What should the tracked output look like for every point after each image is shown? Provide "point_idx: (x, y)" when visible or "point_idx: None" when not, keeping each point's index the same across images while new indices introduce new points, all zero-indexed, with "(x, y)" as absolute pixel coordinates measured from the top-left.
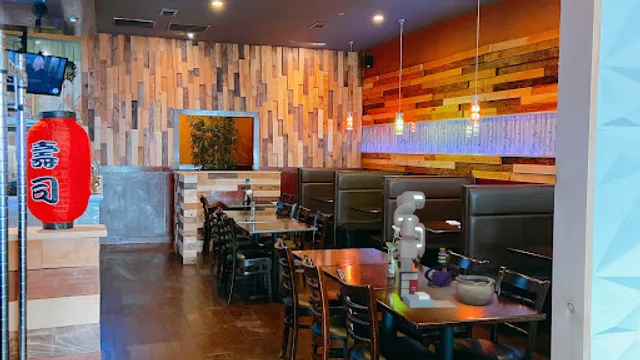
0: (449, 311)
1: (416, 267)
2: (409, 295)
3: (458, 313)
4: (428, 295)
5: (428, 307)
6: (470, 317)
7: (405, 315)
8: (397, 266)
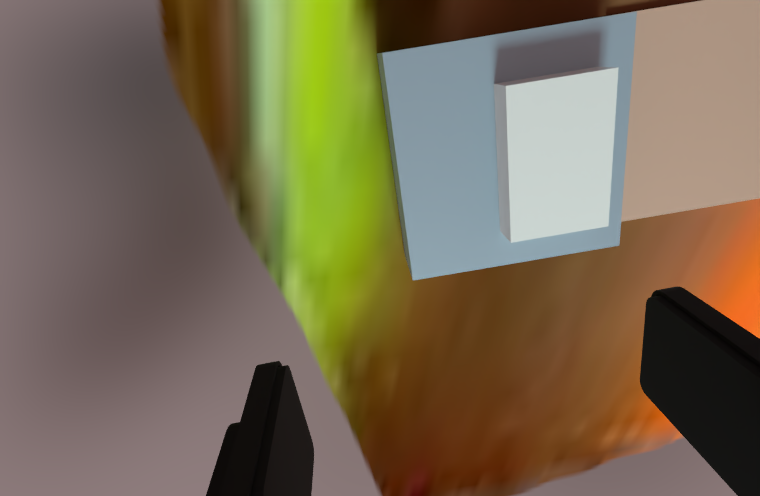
0: None
1: (662, 405)
2: (441, 93)
3: None
4: (603, 214)
5: None
6: None
7: (350, 422)
8: (236, 426)
